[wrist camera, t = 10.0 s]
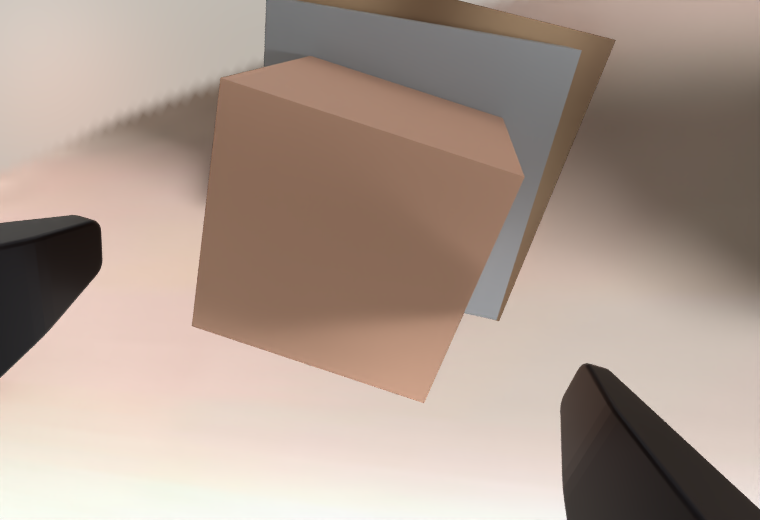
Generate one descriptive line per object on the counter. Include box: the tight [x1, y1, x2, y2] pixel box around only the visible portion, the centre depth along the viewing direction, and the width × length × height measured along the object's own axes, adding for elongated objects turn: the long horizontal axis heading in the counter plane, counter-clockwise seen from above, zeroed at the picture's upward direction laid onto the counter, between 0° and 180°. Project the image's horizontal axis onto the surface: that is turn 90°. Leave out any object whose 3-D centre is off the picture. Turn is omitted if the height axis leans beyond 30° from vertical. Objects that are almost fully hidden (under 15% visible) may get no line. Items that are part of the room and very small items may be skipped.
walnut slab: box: [298, 0, 615, 321], centre depth 19 cm, size 11×11×2 cm
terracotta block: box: [192, 56, 525, 403], centre depth 13 cm, size 6×6×6 cm
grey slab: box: [264, 0, 582, 320], centre depth 17 cm, size 9×9×2 cm
